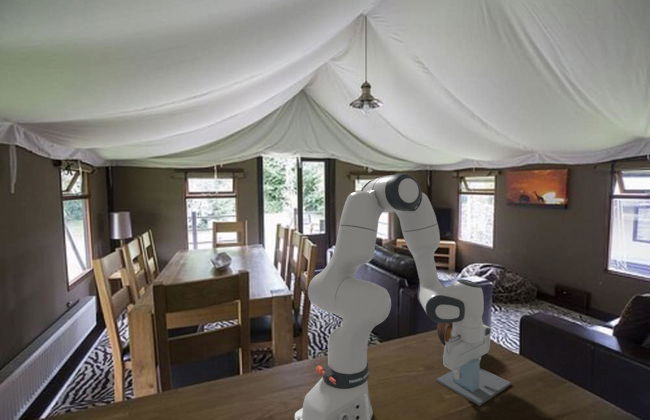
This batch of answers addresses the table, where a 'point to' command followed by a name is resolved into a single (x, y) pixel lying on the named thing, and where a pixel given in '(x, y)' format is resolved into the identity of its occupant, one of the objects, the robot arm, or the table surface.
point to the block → (469, 375)
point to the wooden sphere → (445, 332)
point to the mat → (486, 390)
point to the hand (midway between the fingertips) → (466, 373)
